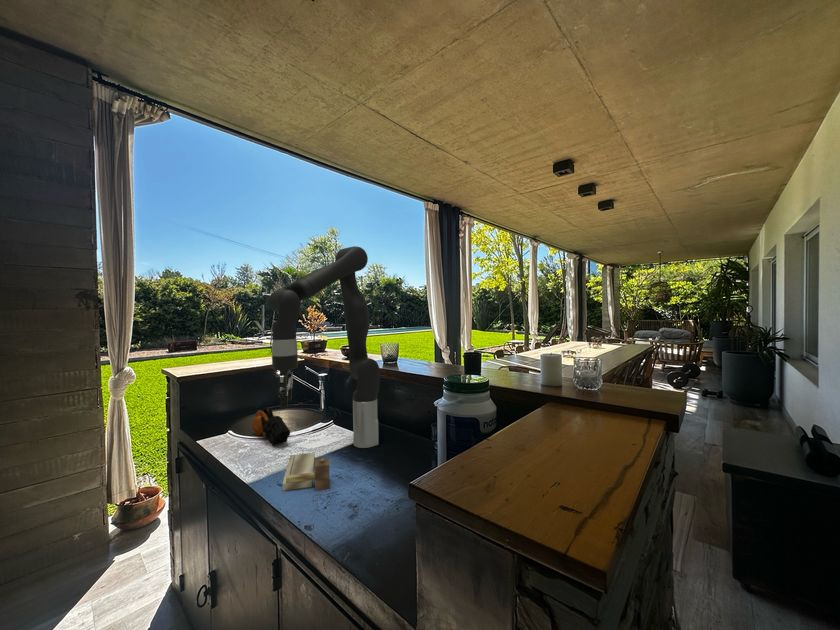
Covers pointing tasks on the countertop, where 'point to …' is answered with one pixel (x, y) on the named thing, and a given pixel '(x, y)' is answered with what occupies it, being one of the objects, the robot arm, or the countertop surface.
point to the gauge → (315, 475)
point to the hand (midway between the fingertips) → (286, 404)
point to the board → (299, 470)
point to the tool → (270, 427)
